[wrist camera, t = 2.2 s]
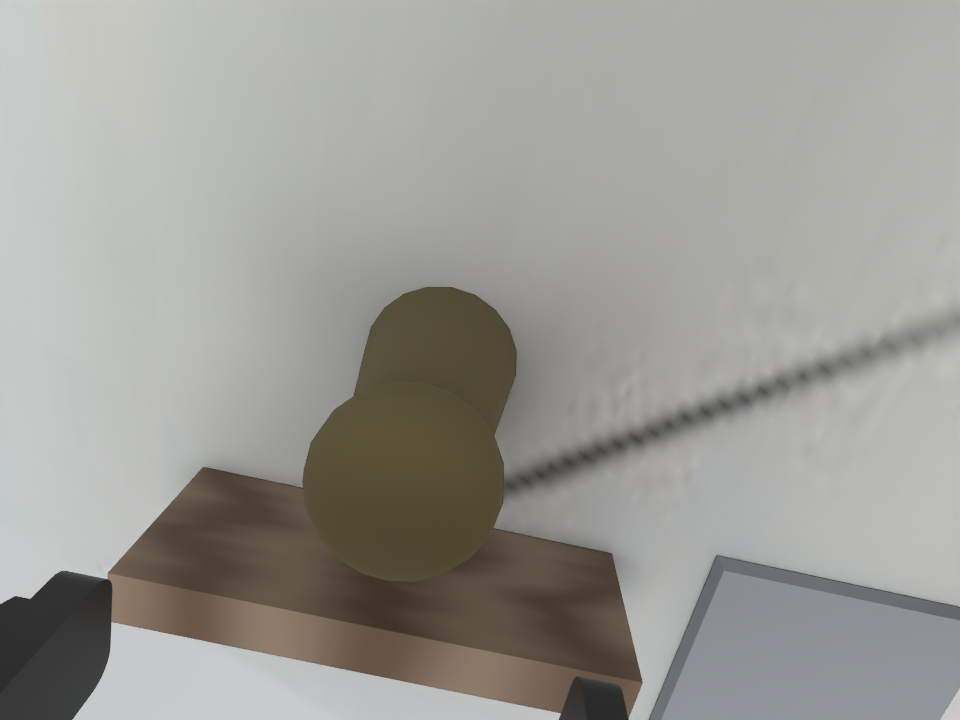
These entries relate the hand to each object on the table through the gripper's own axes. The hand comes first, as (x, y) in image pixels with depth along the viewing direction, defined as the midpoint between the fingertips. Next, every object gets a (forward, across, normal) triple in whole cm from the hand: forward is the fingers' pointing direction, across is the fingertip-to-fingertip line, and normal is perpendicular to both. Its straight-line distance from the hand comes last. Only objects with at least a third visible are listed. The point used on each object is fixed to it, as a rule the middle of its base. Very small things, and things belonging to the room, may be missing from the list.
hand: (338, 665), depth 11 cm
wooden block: (+15, 0, +8) cm, 17 cm away
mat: (+15, -20, +12) cm, 28 cm away
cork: (+16, 0, 0) cm, 16 cm away
